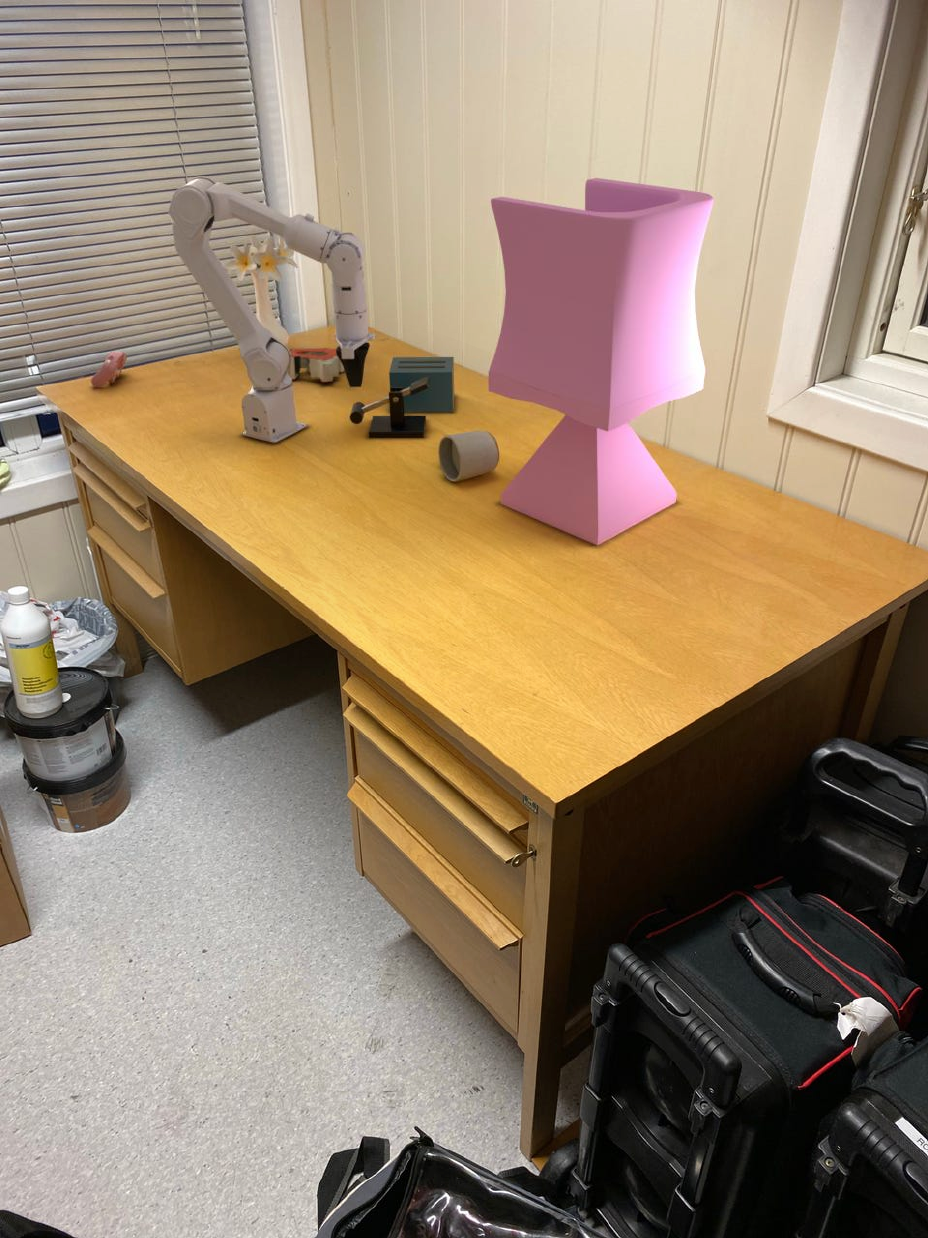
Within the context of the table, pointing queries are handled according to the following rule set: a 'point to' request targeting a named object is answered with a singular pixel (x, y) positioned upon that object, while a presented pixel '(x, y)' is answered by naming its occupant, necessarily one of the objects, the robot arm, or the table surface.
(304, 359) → the red grey lobed slab
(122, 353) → the pink lumpy figure
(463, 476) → the ceramic mug
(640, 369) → the pink tall piece
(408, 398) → the toaster
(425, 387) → the lever
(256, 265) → the flower vase
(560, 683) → the table surface
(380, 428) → the bracket
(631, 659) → the table surface
